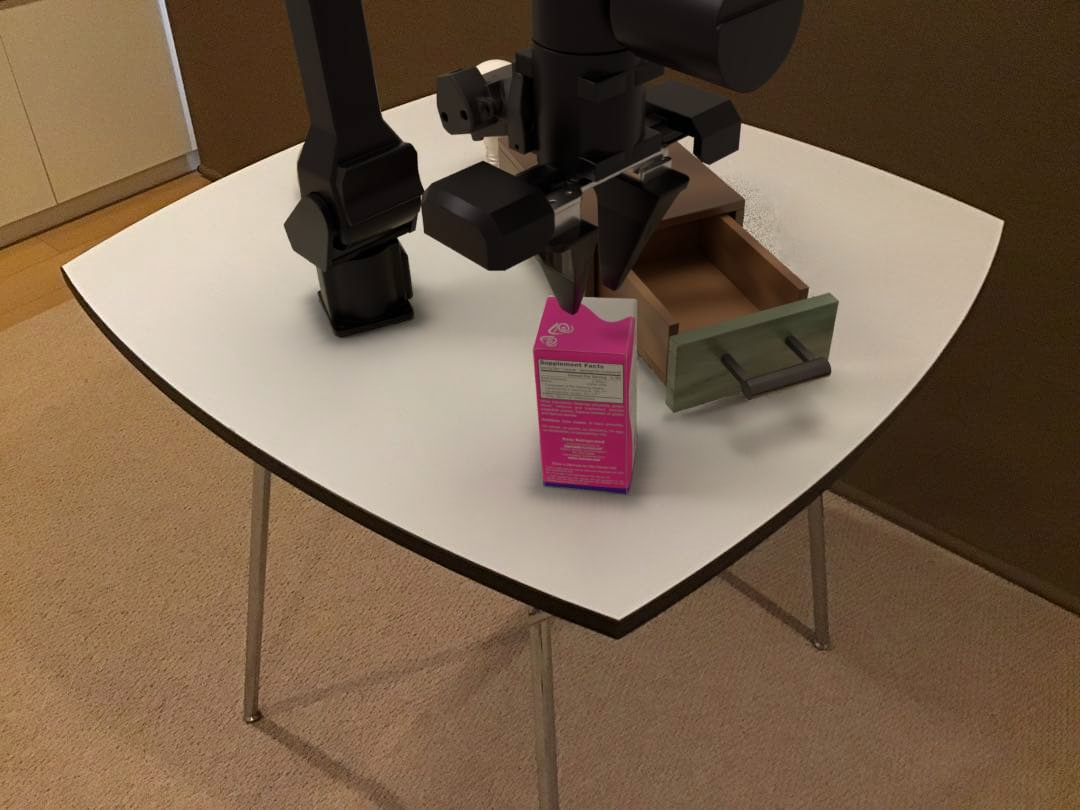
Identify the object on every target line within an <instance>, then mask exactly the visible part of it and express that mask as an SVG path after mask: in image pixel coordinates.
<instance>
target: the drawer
mask: <svg viewBox="0 0 1080 810" xmlns="http://www.w3.org/2000/svg"><path fill="white" fill-rule="evenodd" d="M809 292H810V286H809V285H808V284H807V283H805V282H804V281H803V280H802V279H801V278H800V277H798V276H797V275H796V274H795V273H794V272H793V271H792V270H791V269H789V268H788V267H787V266H786V265H785V264H784V263H783V262H782V261H781V260H780V259H778V258H777V257H776V256H775V255H774V254H773V253H772V252H771V251H770V250H769V249H767V248H766V247H765V246H764V245H763V244H762V243H760V242H759V241H758V240H757V238H755V237H754V236H753V235H752V234H750V233H749V232H748V230H747V229H745V228H744V226H743V227H741V226H740V225H739V224H738V223H737V222H736V221H735V220H734V219H733V218H731V217H730V216H729V215H728V214H727V213H723V214H719V215H715V216H711V217H707V218H703V219H699V220H695V221H690V222H686V223H682V224H678V225H674V226H670V227H666V228H662V229H658V230H655V231H654V232H653V234H652V235H651V237H650V238H649V240H648V242H647V243H646V245H645V247H644V248H643V250H642V252H641V253H640V255H639V257H638V258H637V260H636V262H635V263H634V265H633V267H632V268H631V270H630V272H629V274H628V275H627V277H626V279H625V280H624V282H623V284H622V285H621V287H620V288H619V289H618V290H616V291H612V290H610V289H608V288H606V287H605V286H603V284H602V279H601V272H600V264H599V244H596V246H595V251H594V298H627V299H636V300H637V354H639V355H640V357H641V358H642V359H643V360H644V361H645V363H646V364H647V365H648V366H649V368H650V369H651V370H652V371H653V373H654V374H655V375H656V377H657V378H658V379H659V381H661V383H662V384H663V385H664V386H665V387H666V388H665V389H666V390H665V405H666V406H667V408H668V409H669V410H670V411H671V412H672V414H676V413H679V412H683V411H686V410H689V409H692V408H696V407H700V406H703V405H706V404H709V403H713V402H716V401H720V400H723V399H726V398H730V397H733V396H737V395H740V394H742V396H743V397H744V399H745V400H746V401H747V402H750V401H753V400H757V399H760V398H764V397H768V396H770V395H774V394H778V393H780V392H783V391H787V390H791V389H794V388H796V387H800V386H804V385H807V384H811V383H814V382H816V381H817V382H818V381H821V380H824V379H827V378H830V376H831V375H832V366H831V363H830V361H829V359H830V352H831V347H832V343H833V336H834V331H835V326H836V321H837V314H838V309H839V304H840V301H839V299H838V298H836V297H835V296H834V295H833V294H832V293H831V292H826V293H822V294H818V295H815V296H811V297H809Z"/></svg>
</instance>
